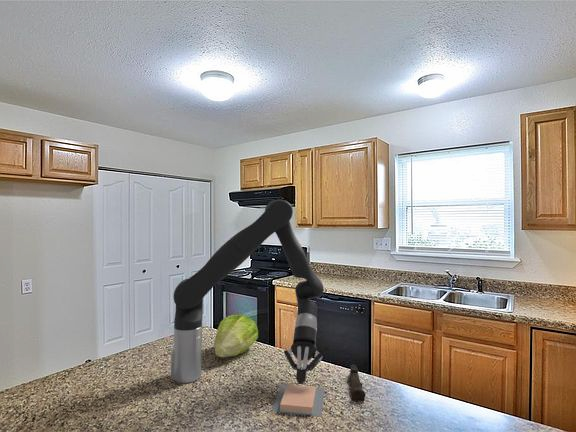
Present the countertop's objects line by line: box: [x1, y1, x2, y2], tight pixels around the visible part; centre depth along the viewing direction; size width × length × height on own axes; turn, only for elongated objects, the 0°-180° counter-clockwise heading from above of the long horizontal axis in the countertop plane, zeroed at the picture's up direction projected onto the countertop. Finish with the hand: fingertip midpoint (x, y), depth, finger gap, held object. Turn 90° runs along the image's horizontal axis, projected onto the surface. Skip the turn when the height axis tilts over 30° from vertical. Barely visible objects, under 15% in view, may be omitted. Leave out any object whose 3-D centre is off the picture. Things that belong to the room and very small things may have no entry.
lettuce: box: [213, 313, 259, 358], centre depth 137 cm, size 17×24×14 cm
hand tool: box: [349, 363, 366, 402], centre depth 109 cm, size 19×4×5 cm, turn 172°
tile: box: [279, 383, 317, 416], centre depth 99 cm, size 9×2×12 cm
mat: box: [270, 383, 326, 417], centre depth 100 cm, size 14×16×1 cm
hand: (300, 383), depth 102 cm, fingers closed
